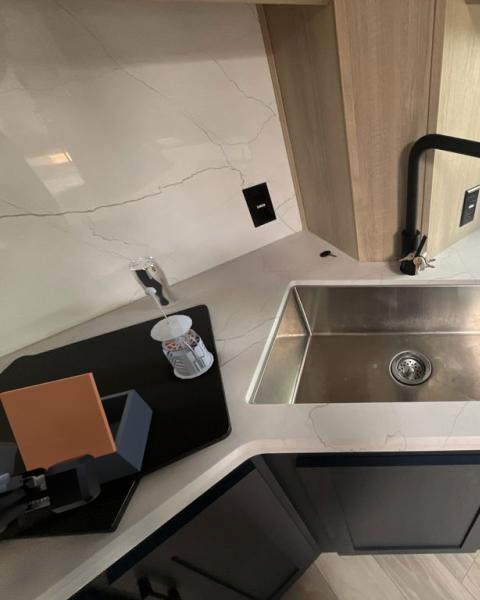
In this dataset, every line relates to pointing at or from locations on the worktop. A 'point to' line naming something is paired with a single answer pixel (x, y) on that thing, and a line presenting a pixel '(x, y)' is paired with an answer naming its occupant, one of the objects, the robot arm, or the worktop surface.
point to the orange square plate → (58, 421)
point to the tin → (124, 435)
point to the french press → (181, 344)
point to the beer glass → (153, 280)
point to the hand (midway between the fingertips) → (53, 475)
